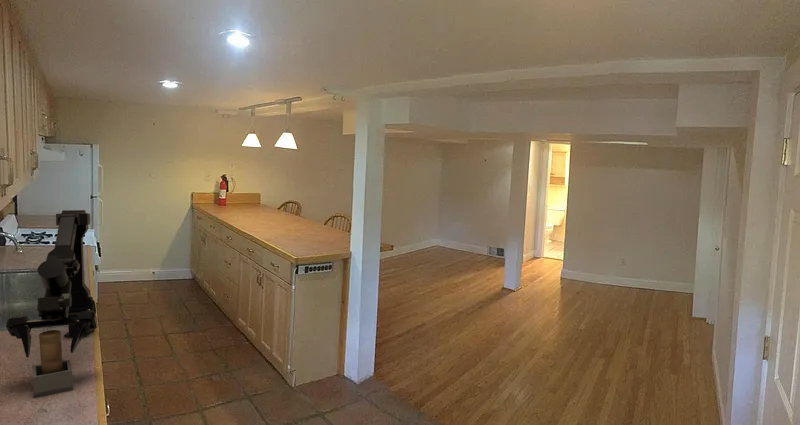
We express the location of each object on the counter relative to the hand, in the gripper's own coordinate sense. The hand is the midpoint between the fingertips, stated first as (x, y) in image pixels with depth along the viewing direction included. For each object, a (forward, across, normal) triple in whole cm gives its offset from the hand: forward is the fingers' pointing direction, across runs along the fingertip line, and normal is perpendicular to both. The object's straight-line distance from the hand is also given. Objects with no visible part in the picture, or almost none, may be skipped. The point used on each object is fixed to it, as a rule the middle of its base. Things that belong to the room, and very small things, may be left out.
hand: (49, 354), depth 128 cm
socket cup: (+5, 0, +7) cm, 9 cm away
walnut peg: (+5, 0, +7) cm, 8 cm away
